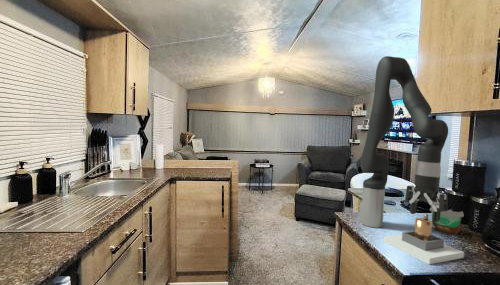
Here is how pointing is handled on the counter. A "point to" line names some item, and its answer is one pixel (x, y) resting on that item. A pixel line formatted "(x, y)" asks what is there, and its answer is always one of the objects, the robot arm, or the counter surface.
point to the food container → (448, 222)
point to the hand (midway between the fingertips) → (423, 217)
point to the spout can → (423, 228)
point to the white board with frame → (424, 248)
